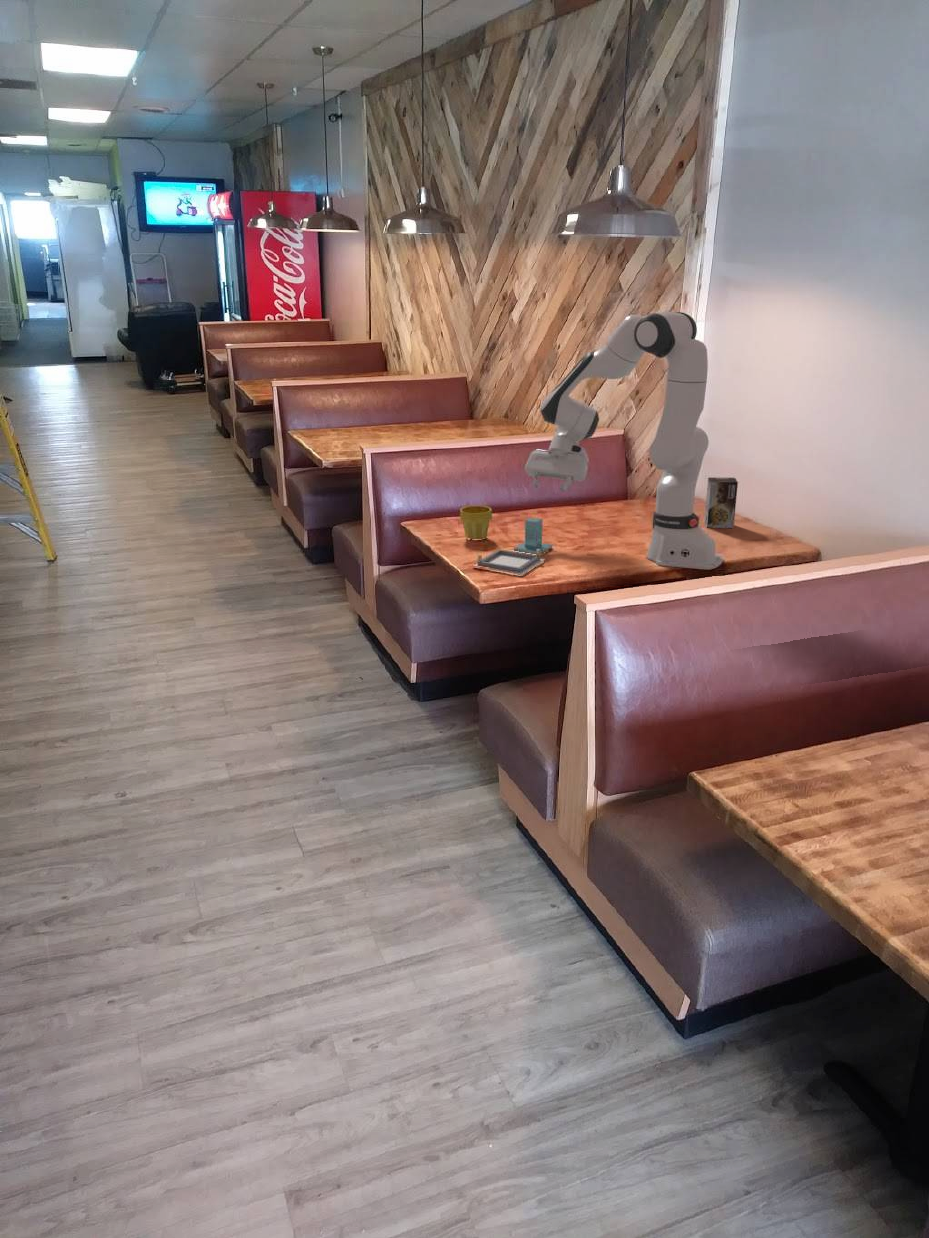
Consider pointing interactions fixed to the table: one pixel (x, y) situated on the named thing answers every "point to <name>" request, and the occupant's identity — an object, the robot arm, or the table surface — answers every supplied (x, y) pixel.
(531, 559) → the base
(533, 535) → the teal plate with post
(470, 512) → the plant pot
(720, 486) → the coffee box
